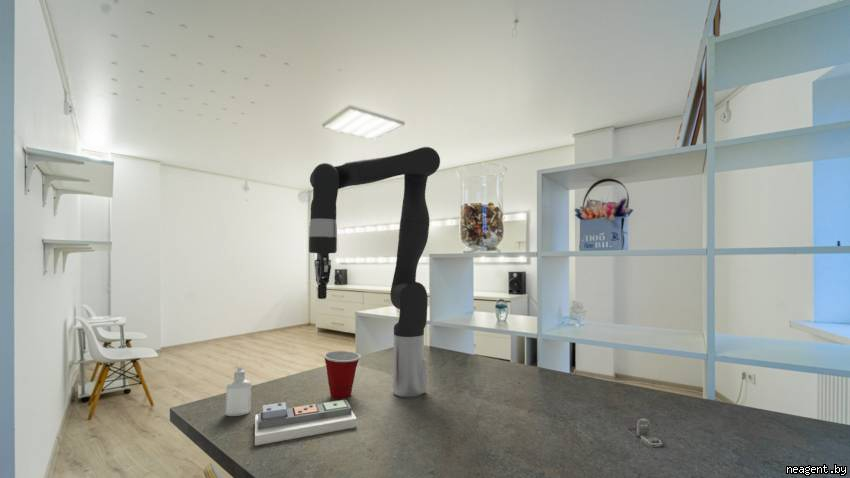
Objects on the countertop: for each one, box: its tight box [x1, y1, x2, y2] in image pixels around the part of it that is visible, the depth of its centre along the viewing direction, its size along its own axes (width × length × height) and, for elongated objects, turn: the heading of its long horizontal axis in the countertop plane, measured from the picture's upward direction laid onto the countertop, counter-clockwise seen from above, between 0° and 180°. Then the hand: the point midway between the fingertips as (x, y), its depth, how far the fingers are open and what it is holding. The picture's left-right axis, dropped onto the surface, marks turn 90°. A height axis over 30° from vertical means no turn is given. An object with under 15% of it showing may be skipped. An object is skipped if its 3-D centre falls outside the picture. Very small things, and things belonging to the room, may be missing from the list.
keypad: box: [254, 398, 358, 446], centre depth 89 cm, size 22×12×4 cm, turn 114°
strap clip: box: [626, 418, 664, 448], centre depth 84 cm, size 8×3×4 cm, turn 6°
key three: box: [293, 403, 318, 416], centre depth 89 cm, size 5×4×2 cm
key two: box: [262, 401, 288, 419], centre depth 87 cm, size 5×4×2 cm
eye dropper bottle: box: [225, 365, 252, 417], centre depth 96 cm, size 4×6×12 cm
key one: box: [322, 399, 347, 411], centre depth 92 cm, size 5×4×2 cm
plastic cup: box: [323, 350, 362, 400], centre depth 109 cm, size 11×11×12 cm
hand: (321, 298), depth 103 cm, fingers closed
